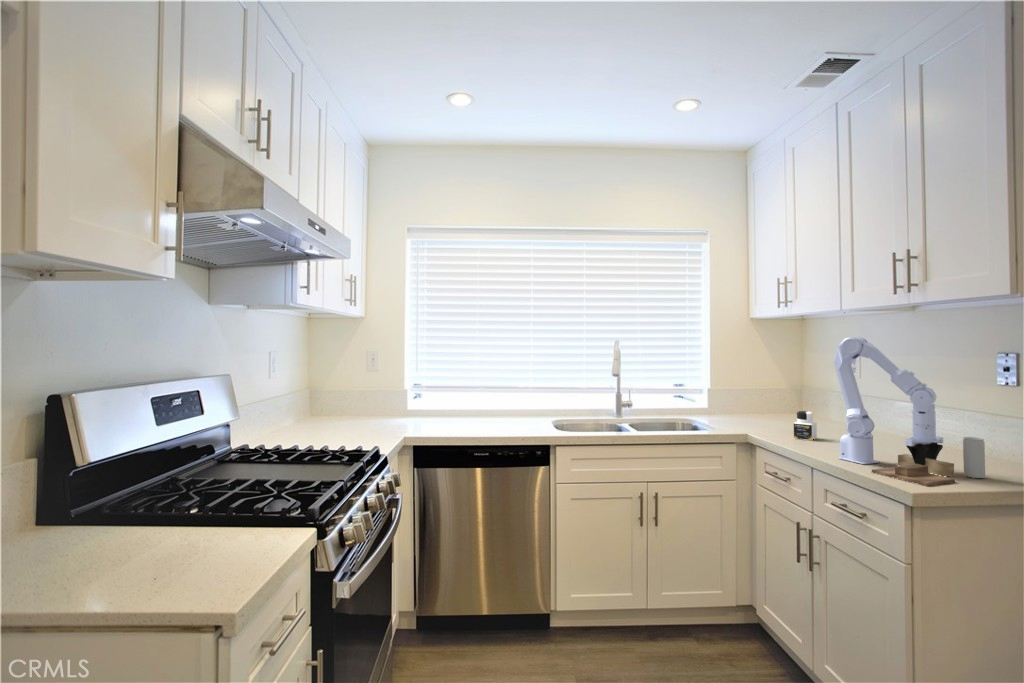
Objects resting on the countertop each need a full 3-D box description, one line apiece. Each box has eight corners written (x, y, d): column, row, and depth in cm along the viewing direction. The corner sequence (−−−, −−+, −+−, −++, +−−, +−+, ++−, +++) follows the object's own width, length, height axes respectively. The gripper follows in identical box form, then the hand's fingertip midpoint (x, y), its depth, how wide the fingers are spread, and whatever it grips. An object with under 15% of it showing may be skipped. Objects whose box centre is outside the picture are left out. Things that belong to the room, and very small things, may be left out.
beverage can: (978, 479, 146) (977, 440, 147) (959, 475, 151) (959, 437, 151) (989, 478, 148) (988, 439, 148) (970, 474, 152) (969, 436, 153)
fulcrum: (871, 472, 156) (871, 461, 156) (898, 469, 159) (898, 458, 159) (926, 486, 141) (926, 474, 141) (955, 482, 144) (954, 470, 144)
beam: (898, 466, 163) (897, 454, 163) (906, 465, 165) (906, 454, 165) (945, 477, 150) (944, 464, 150) (954, 476, 151) (953, 463, 151)
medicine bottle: (793, 438, 212) (793, 411, 212) (798, 436, 217) (798, 409, 217) (812, 441, 207) (811, 413, 207) (817, 438, 212) (816, 411, 212)
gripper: (921, 428, 152) (922, 471, 151) (953, 425, 156) (954, 467, 156) (898, 424, 158) (898, 466, 158) (929, 422, 162) (930, 462, 162)
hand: (924, 466), depth 157 cm, fingers closed on beam, 4 cm apart
